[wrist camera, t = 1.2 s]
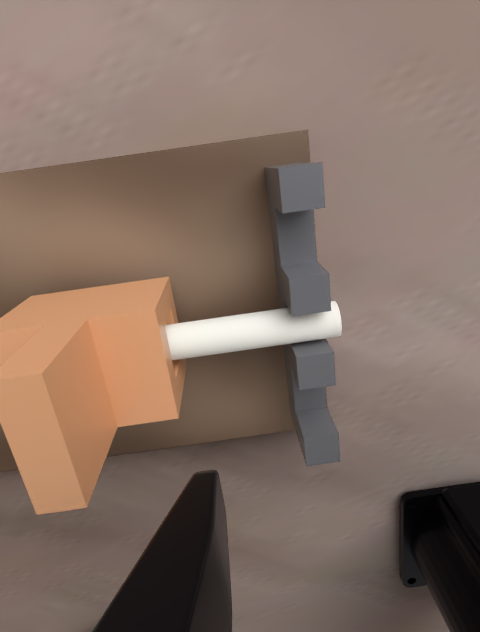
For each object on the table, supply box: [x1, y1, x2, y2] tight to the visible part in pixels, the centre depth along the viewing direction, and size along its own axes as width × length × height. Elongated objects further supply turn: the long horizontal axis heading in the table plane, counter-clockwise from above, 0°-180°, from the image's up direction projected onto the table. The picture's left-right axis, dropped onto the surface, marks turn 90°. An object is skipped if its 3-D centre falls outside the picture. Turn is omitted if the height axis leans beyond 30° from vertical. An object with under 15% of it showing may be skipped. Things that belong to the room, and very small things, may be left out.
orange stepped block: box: [0, 277, 187, 515], centre depth 12 cm, size 4×5×7 cm
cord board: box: [0, 130, 327, 472], centre depth 17 cm, size 12×23×2 cm, turn 98°
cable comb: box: [265, 162, 340, 466], centre depth 15 cm, size 10×1×4 cm, turn 8°
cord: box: [165, 301, 342, 360], centre depth 14 cm, size 1×20×1 cm, turn 98°
